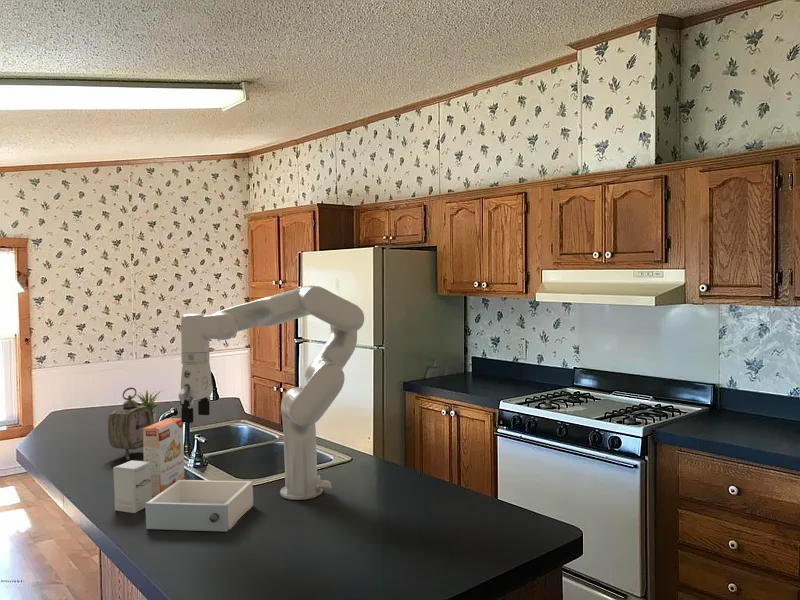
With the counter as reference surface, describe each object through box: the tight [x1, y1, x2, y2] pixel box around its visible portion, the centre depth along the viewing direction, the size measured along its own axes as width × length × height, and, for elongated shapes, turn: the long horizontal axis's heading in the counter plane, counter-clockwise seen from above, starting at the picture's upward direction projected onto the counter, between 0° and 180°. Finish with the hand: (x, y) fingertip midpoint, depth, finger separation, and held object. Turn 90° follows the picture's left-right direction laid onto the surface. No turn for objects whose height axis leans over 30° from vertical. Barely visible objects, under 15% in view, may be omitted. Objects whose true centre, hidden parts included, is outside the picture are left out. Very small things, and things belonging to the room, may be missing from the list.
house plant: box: [134, 389, 165, 424], centre depth 291 cm, size 14×14×16 cm
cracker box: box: [142, 417, 186, 498], centre depth 208 cm, size 14×6×21 cm, turn 168°
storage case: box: [148, 479, 254, 531], centre depth 185 cm, size 22×18×7 cm
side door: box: [144, 502, 229, 532], centre depth 175 cm, size 22×2×7 cm, turn 82°
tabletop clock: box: [107, 387, 154, 461], centre depth 246 cm, size 14×9×25 cm, turn 161°
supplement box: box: [112, 460, 153, 514], centre depth 193 cm, size 7×7×13 cm
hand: (195, 418), depth 190 cm, fingers open, 9 cm apart
